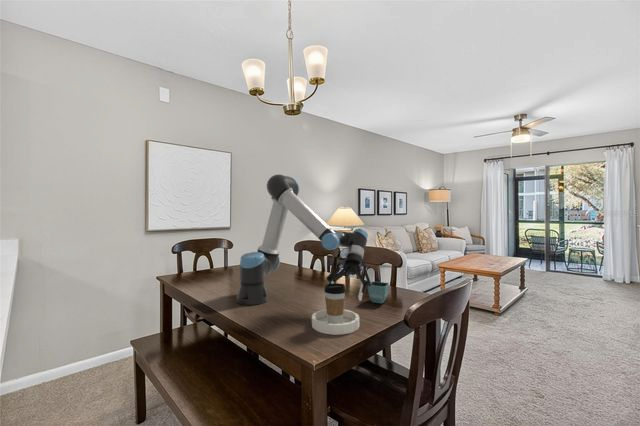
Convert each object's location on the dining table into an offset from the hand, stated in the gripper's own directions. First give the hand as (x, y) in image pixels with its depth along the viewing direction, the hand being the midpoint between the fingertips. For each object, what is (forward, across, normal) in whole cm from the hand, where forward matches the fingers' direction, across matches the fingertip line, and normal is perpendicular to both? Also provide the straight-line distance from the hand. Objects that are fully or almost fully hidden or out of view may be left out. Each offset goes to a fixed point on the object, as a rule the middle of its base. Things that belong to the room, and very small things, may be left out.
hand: (344, 297), depth 131 cm
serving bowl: (+13, 0, +2) cm, 13 cm away
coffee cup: (+13, 0, +2) cm, 13 cm away
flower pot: (-13, -9, -25) cm, 29 cm away
